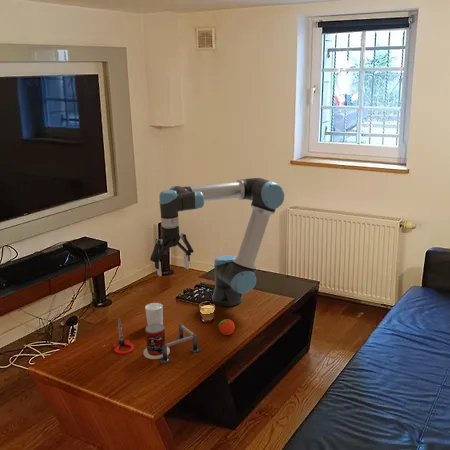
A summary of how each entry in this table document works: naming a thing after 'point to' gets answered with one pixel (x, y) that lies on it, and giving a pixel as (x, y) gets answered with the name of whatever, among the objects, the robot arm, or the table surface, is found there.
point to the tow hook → (122, 342)
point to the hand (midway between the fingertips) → (173, 271)
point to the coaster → (154, 356)
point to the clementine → (226, 327)
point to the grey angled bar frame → (180, 339)
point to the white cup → (154, 313)
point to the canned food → (155, 338)
